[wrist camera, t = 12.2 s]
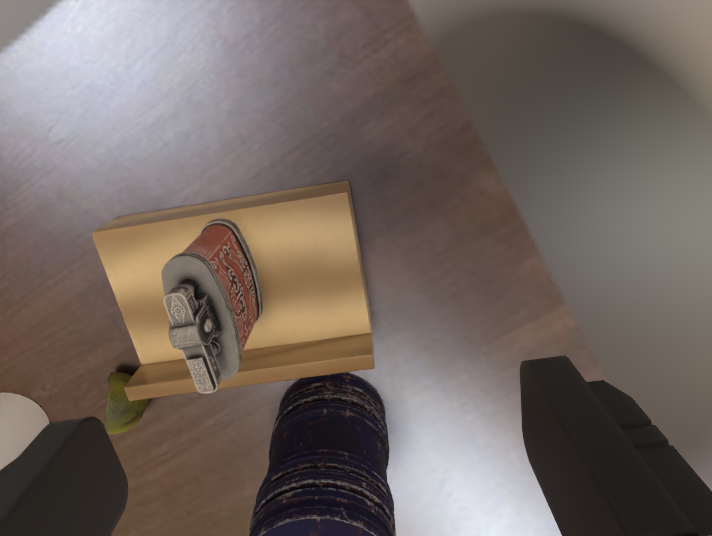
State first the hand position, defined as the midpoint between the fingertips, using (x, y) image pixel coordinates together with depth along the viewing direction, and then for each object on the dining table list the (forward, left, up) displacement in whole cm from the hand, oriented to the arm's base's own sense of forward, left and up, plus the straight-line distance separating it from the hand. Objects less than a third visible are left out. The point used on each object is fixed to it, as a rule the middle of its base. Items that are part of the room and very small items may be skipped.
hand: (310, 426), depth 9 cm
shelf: (+7, -9, -28) cm, 30 cm away
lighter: (+5, -9, -24) cm, 26 cm away
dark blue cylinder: (+22, -5, -28) cm, 36 cm away
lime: (+16, -22, -28) cm, 39 cm away
